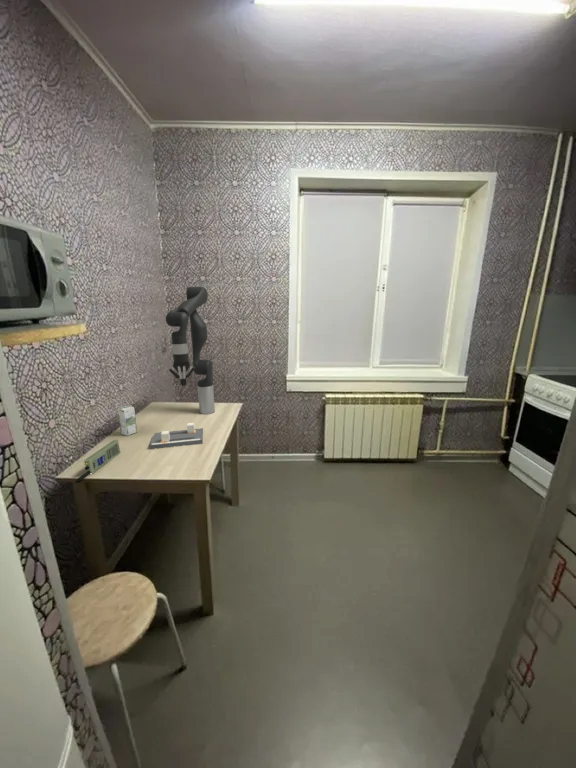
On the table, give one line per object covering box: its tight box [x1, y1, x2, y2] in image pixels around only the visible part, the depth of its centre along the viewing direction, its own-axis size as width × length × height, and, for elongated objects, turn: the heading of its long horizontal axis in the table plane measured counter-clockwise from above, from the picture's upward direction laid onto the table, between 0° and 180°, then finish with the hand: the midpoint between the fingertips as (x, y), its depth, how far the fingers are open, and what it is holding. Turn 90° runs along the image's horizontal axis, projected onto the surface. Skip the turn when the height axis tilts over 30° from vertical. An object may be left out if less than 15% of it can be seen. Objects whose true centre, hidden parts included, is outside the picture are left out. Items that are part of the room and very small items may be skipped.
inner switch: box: [186, 422, 195, 433], centre depth 163 cm, size 4×3×4 cm
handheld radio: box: [76, 439, 121, 482], centre depth 133 cm, size 7×3×25 cm
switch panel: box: [149, 427, 204, 450], centre depth 158 cm, size 15×24×2 cm, turn 104°
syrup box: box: [117, 405, 138, 437], centre depth 165 cm, size 6×6×14 cm
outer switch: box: [161, 430, 170, 442], centre depth 153 cm, size 4×3×4 cm
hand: (183, 385), depth 164 cm, fingers closed
